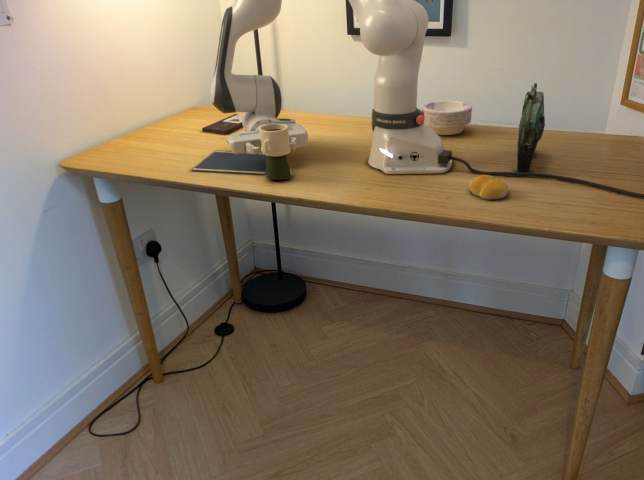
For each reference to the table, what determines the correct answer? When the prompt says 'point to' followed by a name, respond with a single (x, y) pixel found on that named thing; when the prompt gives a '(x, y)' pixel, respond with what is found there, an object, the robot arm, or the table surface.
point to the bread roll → (488, 187)
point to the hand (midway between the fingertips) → (274, 149)
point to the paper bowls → (447, 116)
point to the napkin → (234, 163)
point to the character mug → (275, 150)
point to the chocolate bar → (225, 125)
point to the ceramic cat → (530, 128)
